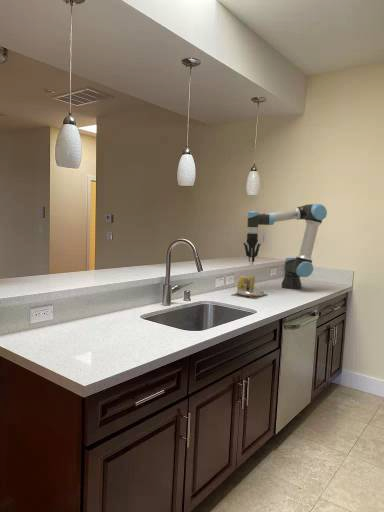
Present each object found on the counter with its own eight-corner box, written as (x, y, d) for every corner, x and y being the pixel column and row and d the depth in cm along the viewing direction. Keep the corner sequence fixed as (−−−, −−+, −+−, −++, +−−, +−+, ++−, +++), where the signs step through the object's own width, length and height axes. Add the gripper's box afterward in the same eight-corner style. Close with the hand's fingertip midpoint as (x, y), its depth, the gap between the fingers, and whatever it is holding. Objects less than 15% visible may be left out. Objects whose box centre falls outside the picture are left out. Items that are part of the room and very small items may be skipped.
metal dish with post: (231, 292, 266) (231, 279, 265) (250, 290, 276) (251, 278, 275) (249, 297, 251) (249, 283, 251) (269, 295, 261) (269, 281, 261)
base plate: (244, 291, 276) (244, 290, 276) (267, 295, 266) (267, 293, 266) (230, 295, 261) (231, 294, 261) (255, 299, 251) (255, 297, 251)
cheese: (237, 290, 279) (237, 277, 278) (241, 288, 289) (241, 275, 288) (251, 292, 276) (252, 278, 275) (254, 289, 286) (255, 276, 285)
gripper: (241, 232, 274) (240, 266, 276) (258, 233, 266) (257, 267, 269) (246, 232, 280) (245, 265, 282) (263, 233, 273) (262, 266, 275)
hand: (251, 266), depth 275 cm, fingers closed
